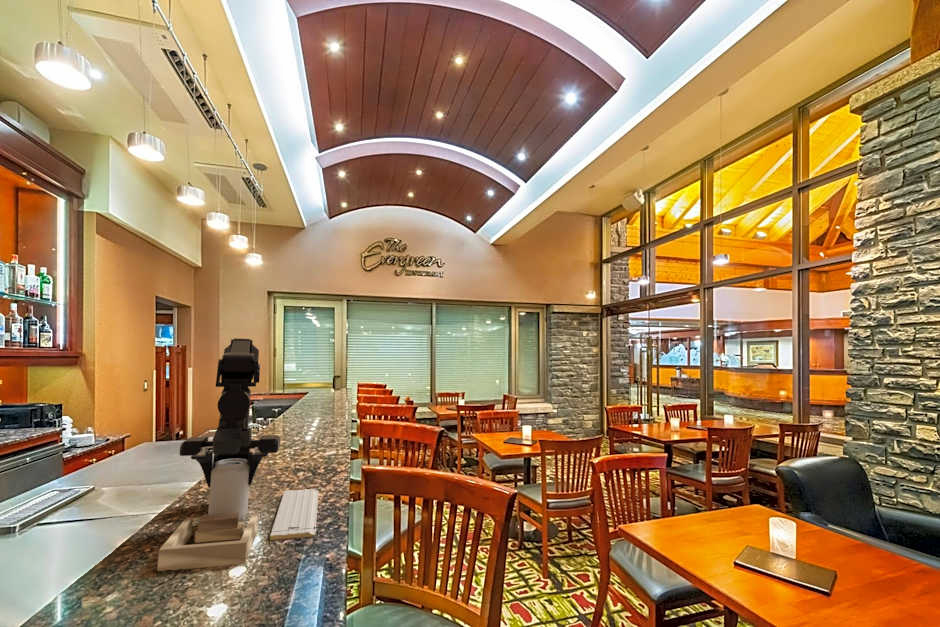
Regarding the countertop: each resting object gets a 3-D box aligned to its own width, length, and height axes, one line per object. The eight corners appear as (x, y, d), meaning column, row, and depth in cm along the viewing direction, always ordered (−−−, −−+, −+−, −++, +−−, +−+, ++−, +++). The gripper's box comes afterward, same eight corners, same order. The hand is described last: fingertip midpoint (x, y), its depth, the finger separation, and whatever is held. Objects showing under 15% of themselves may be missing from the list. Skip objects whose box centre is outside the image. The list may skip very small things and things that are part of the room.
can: (254, 513, 101) (257, 457, 102) (234, 525, 94) (238, 466, 95) (221, 511, 102) (225, 456, 103) (199, 524, 95) (203, 464, 95)
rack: (184, 536, 91) (185, 518, 91) (258, 530, 95) (259, 513, 95) (157, 571, 77) (158, 550, 77) (245, 563, 80) (246, 542, 81)
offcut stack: (199, 535, 92) (201, 514, 92) (243, 531, 94) (244, 511, 94) (194, 543, 88) (195, 521, 88) (240, 539, 90) (241, 518, 91)
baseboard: (324, 493, 122) (283, 496, 119) (324, 482, 122) (284, 485, 119) (322, 538, 93) (269, 543, 90) (323, 524, 93) (270, 528, 91)
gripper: (173, 418, 89) (167, 501, 88) (277, 417, 95) (272, 494, 94) (190, 410, 100) (184, 484, 99) (282, 409, 105) (278, 479, 104)
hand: (229, 485), depth 99 cm, fingers closed on can, 7 cm apart
